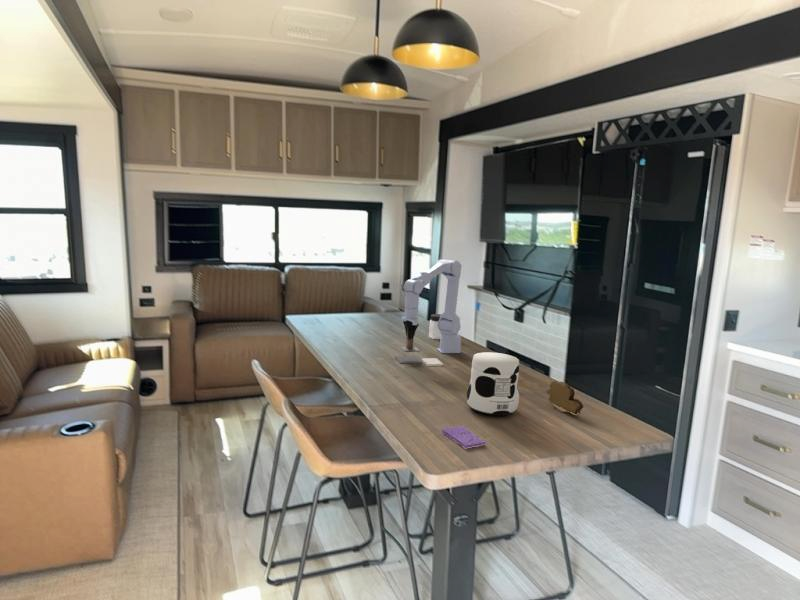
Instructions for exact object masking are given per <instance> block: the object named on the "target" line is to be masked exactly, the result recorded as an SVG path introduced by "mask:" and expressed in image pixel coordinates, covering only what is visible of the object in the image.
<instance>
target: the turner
mask: <svg viewBox="0 0 800 600" xmlns="http://www.w3.org/2000/svg"><path fill="white" fill-rule="evenodd" d="M405 345H406V346H402V347H400V350H402V352H404V353H420V352H421V350H420V349H419V348H418V347H417V346H414V338H413V339H408V332H407V337H406V344H405Z"/></svg>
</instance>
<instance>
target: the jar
mask: <svg viewBox="0 0 800 600" xmlns="http://www.w3.org/2000/svg"><path fill="white" fill-rule="evenodd" d="M441 314H442V313H441ZM441 314H440V313H432V314H431V315H430V320H429V328H428V338H430V339H432V340H440V337H441V332H440V330H439V329H438V321H439V319H440V315H441Z"/></svg>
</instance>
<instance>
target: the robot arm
mask: <svg viewBox="0 0 800 600" xmlns="http://www.w3.org/2000/svg"><path fill="white" fill-rule="evenodd" d="M461 271H462V264H461V262H460V261H459V260H451V259H445V258H439V260H437V261H436V262H435V264H434V265H433V266H432V267H431V268H430V269H429V270H427V271H425V270H424V271H423V270H422V271H420V273H419V274H417V275H416V276H414V277H413V278H412V279H407V280H406V281H405V282H404V284H403V287H402V288H403V291H404V297H405V304H404V316H401V319H402V320H403V321H402V323H403V326H404V329H405V331H404V332H405V336H406V338H407V332H408V339H413V340H414V337H415V335H416V331H417V329H418V328H419V322H418V321H419V316H418V315H419V305H420V304H419V301H420V294H421V293H422V292H423V289H424V287H426V286H428V284H430V283H431V282H432V279H434V278H435V277H436V276H438V275H439V274H442V275H443V276H444V277H445V278H446V279H447V284H446V285H447V286H446V295H445V302H444V303H445V304H444V312H443V313H441V315H440V319H439V321H438V329H439V330H440V332H441V337H440V339H439V347H436V350H437V351H439V352H440V353H441V354H461V353H462V352H461V345H462V336H461V334H460V333H459V332H460V330H461V318H460V316H458V315H457V313H456V312H457V303H458V295H459V287H460V286H459V285H460V278H461V274H462V273H461Z"/></svg>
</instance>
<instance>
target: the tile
mask: <svg viewBox="0 0 800 600" xmlns="http://www.w3.org/2000/svg"><path fill="white" fill-rule="evenodd" d="M420 360H421V361H422V362H423V364H424V365H426V367H444V363H443V362H442V361H441V360H439V359H438V357H437V358H435V357H431V358H429V357H427V358H425V357H424V358H421V359H420Z"/></svg>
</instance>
